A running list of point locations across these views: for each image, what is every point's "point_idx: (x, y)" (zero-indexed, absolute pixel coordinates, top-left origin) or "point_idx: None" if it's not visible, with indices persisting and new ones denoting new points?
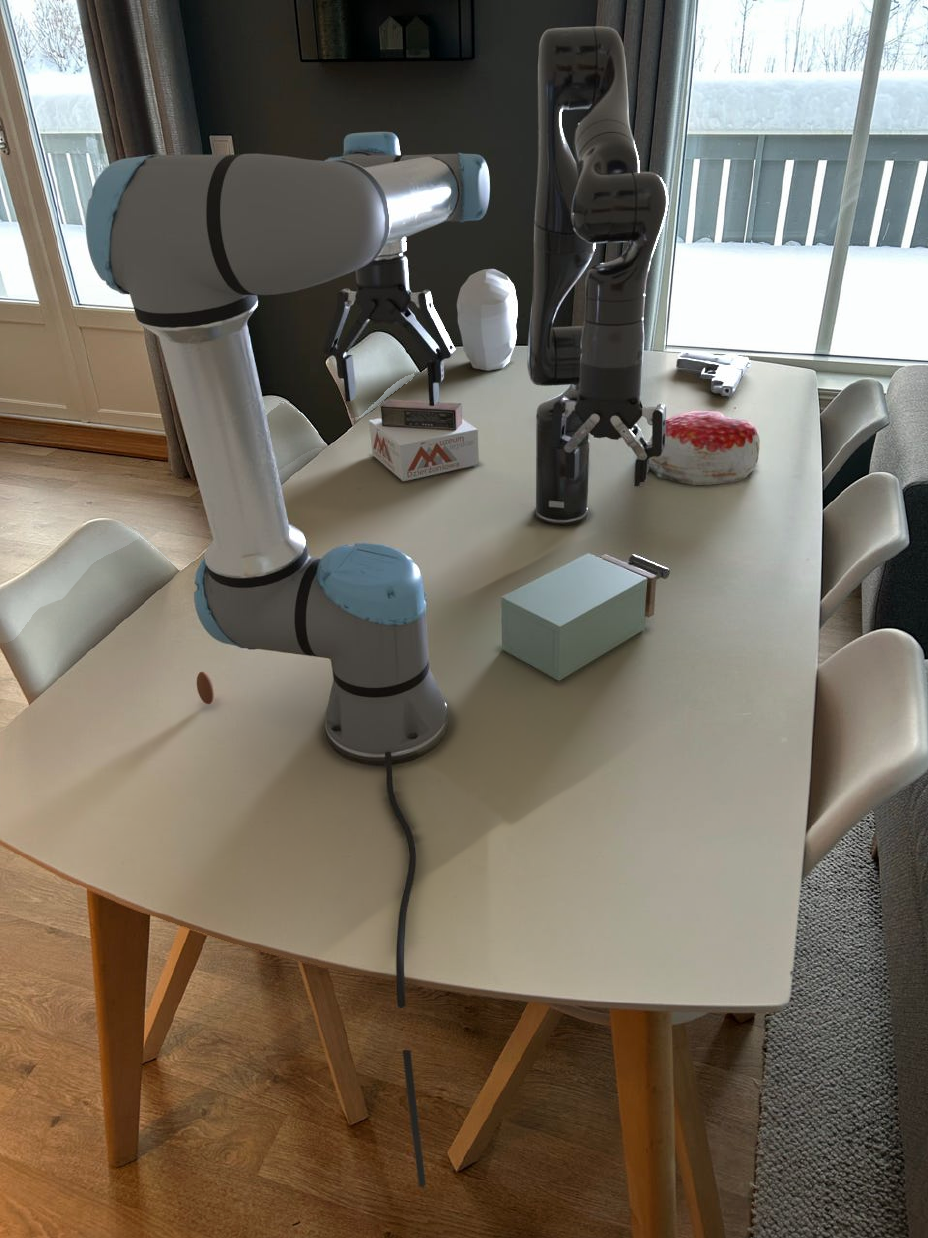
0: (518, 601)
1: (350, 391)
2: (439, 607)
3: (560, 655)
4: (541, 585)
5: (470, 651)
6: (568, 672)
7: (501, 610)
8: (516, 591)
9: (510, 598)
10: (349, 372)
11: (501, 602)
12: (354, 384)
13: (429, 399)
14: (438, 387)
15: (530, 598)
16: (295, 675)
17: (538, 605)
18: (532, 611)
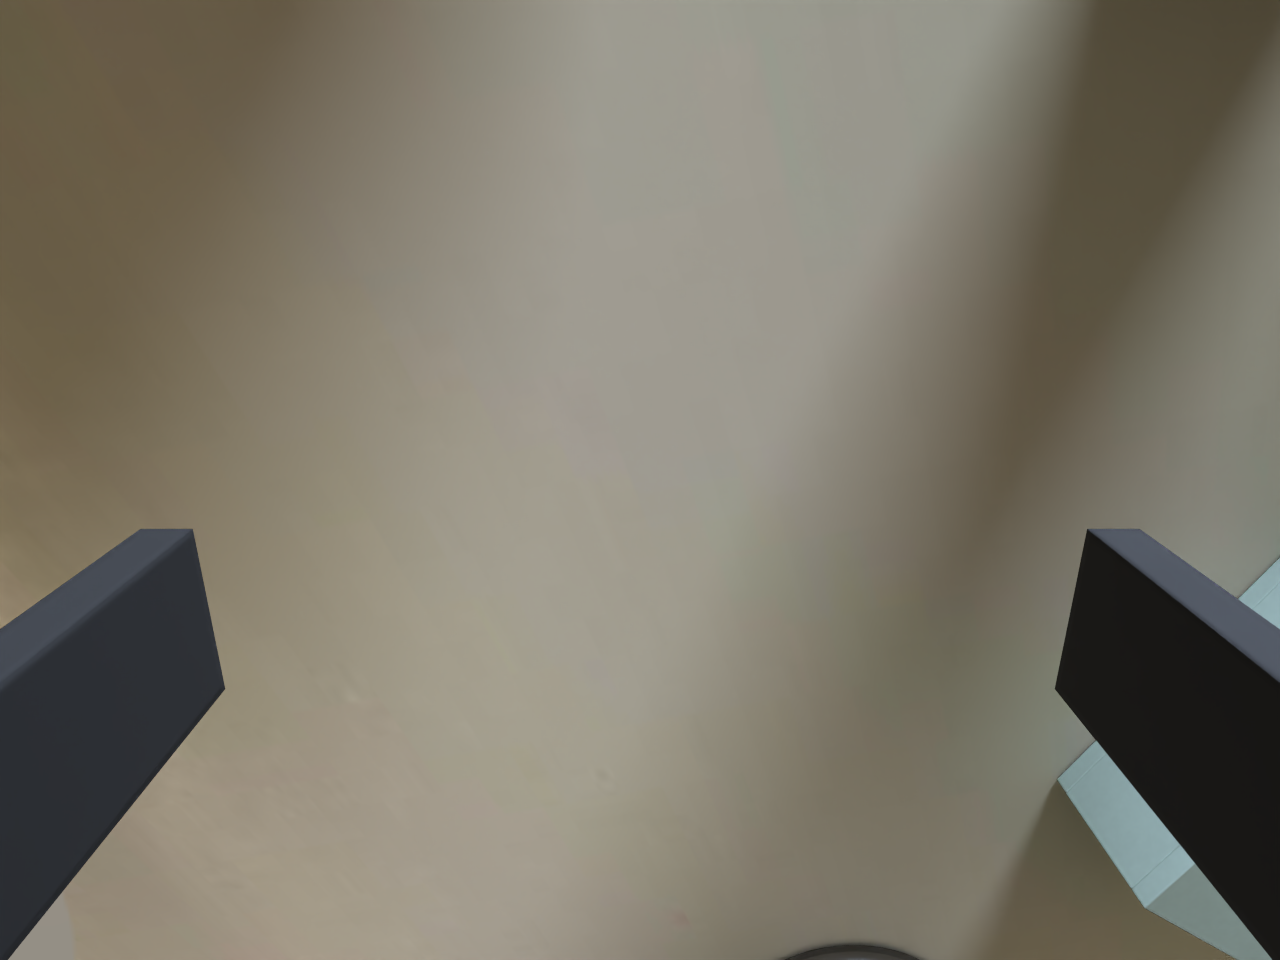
0: (1196, 919)
1: (168, 720)
2: (853, 630)
3: None
4: None
5: (975, 797)
6: None
7: (1119, 871)
8: (1191, 876)
9: (1173, 911)
10: (15, 862)
11: (1134, 893)
12: (116, 623)
13: (1090, 725)
14: (1233, 601)
15: None
16: (586, 939)
17: None
18: (1236, 955)
